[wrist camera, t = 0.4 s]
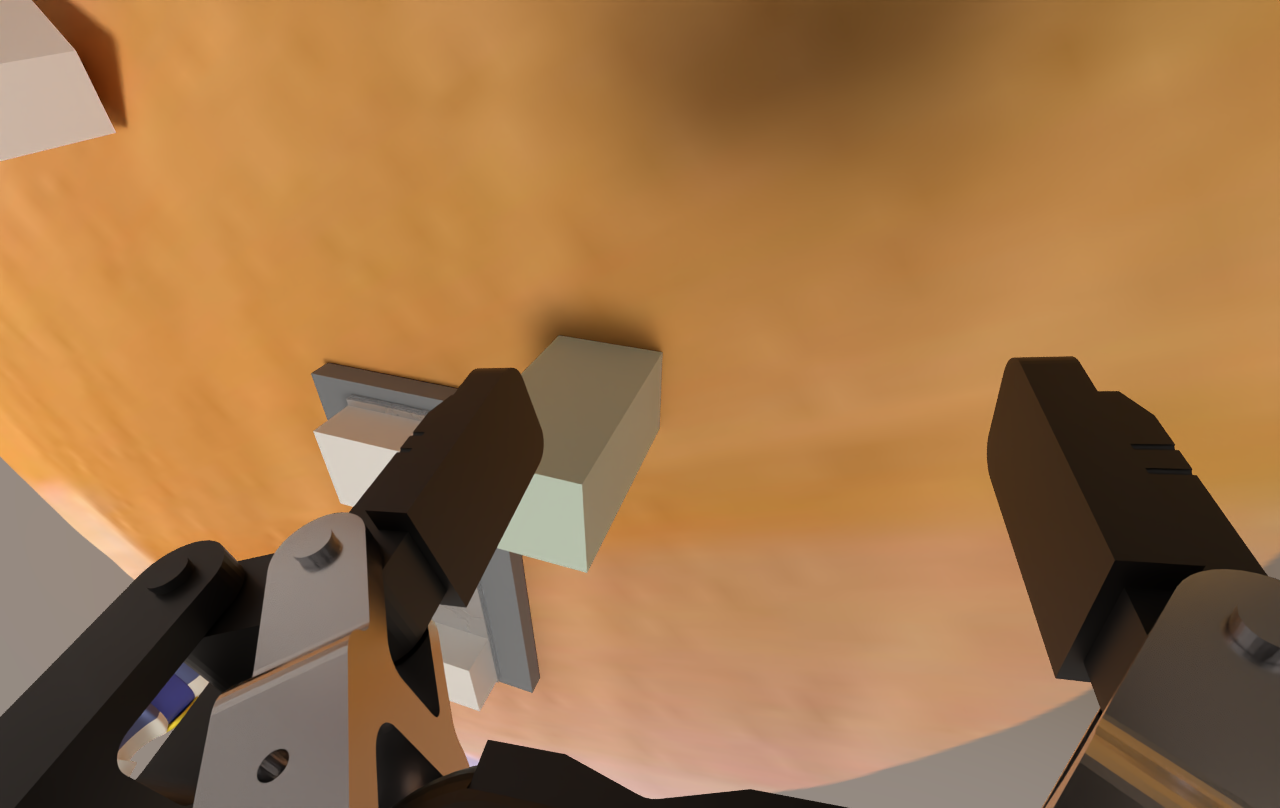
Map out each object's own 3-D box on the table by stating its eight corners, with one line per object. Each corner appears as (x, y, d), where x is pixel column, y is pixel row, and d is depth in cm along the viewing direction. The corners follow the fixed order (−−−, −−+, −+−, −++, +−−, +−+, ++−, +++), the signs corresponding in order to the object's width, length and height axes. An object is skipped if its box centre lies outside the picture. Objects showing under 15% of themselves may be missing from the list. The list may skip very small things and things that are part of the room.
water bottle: (302, 615, 62) (38, 894, 42) (267, 626, 66) (15, 882, 47) (244, 562, 59) (-65, 832, 40) (212, 577, 64) (-79, 826, 44)
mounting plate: (352, 394, 38) (346, 398, 37) (445, 413, 36) (439, 419, 35) (434, 654, 54) (431, 659, 53) (501, 676, 52) (498, 682, 52)
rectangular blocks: (344, 404, 37) (309, 430, 35) (440, 425, 36) (410, 454, 33) (427, 655, 53) (406, 685, 51) (497, 679, 51) (479, 711, 49)
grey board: (327, 362, 39) (311, 373, 38) (497, 396, 36) (485, 409, 35) (419, 638, 56) (409, 651, 55) (539, 677, 53) (532, 692, 52)
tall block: (555, 334, 32) (440, 451, 23) (662, 352, 30) (581, 484, 22) (561, 408, 35) (460, 538, 26) (659, 428, 33) (587, 572, 24)
